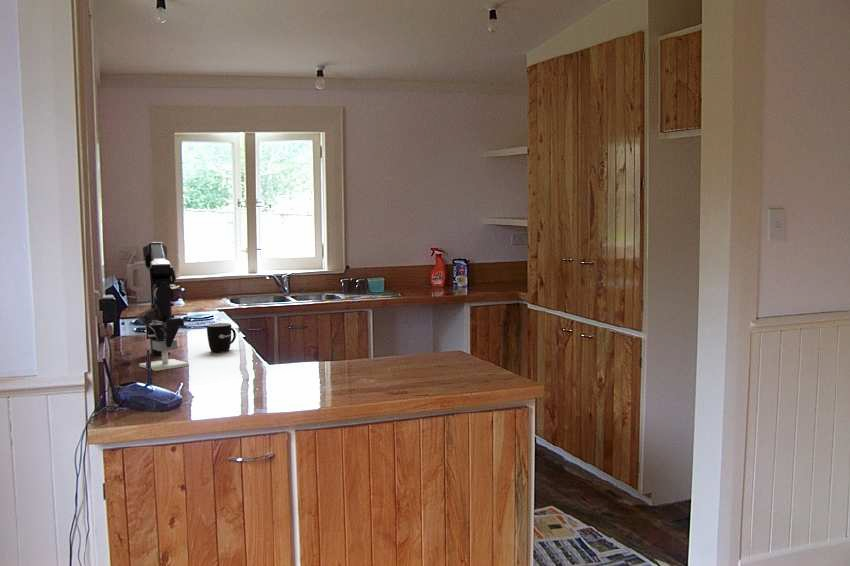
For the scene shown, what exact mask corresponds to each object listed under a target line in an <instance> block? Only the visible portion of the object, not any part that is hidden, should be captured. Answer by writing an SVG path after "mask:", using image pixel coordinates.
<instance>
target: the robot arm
mask: <svg viewBox="0 0 850 566" xmlns="http://www.w3.org/2000/svg"><path fill="white" fill-rule="evenodd" d="M141 251H142V252H141V255H142V259H141V260H142V261H144V266H145V267H146V268H147V271H148V277H149V289H150V290H149V292H150V308H149V309H146V310H144V311H141V312H140V313H138V314H136V317H137V320H138V322H139V324H140V325H145V329H144V330H145V339H146V340H149V346H150V347H149V348H150V354H151V355H150V356H153V357H155V356H162V351H158V350H154V349H153V347H152V340H160V339H166V344H167V347H171V345H172V342H173V340H175V337H176V335H177V333H178V331H179V329H180V328H181V327H185V320H184V319H183V318H182V317H175V315H174V314H173V312H172V310H173V309H172V307H174V306H175V302H172V301H173V299H174V290H173V289H172V288H171V284H175V282H176V281H177V280H176V279H177V278H176V272H175V271H176V270H175V268H174V267H173V266H172V264H171V262H170V260H168V248H167V246H166V245H165V244H164V242H162V241H153V242H151V241H150V242H148V243H147V245H145V246H144V247H142V250H141ZM169 354H171V351H168V355H169Z"/></svg>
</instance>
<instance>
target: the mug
mask: <svg viewBox="0 0 850 566" xmlns="http://www.w3.org/2000/svg"><path fill="white" fill-rule="evenodd" d="M206 334H207V341H208V347H209V350H210V352H212V353H213V354H214V353H216V354H217V353H226V352H229V351H230V348H231V345H232V344H233V343H234V342H235V340H236V337H237V335H236V334H237V333H236V331H235V329H234V328H233V327H232V323H230V322H218V323H217V322H216V323H208V324H207V325H206Z"/></svg>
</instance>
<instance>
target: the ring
mask: <svg viewBox="0 0 850 566" xmlns="http://www.w3.org/2000/svg"><path fill="white" fill-rule="evenodd" d="M152 347H153V349H154V350H158V351H165V350H168V351H171V350H177V349H178V340H177V339H174V340H173V342H172V345H171V347H167V344H166V339H160V340H152Z"/></svg>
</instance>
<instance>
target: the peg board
mask: <svg viewBox="0 0 850 566" xmlns="http://www.w3.org/2000/svg"><path fill="white" fill-rule="evenodd" d="M168 352H169V350H165V351H162V355H161V359H162V360H155V361H150V362H151V368H152V370H151V371H155V372H156V371H164V370H170V369H177V368H182V367H189V365H190V363H189V362H187V361H184V360H183V361H182V360H178V359H174V358H170V359H169V354H168ZM146 363H147V362H141V363H139V367H140V368H144V369H147V368H146Z"/></svg>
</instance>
